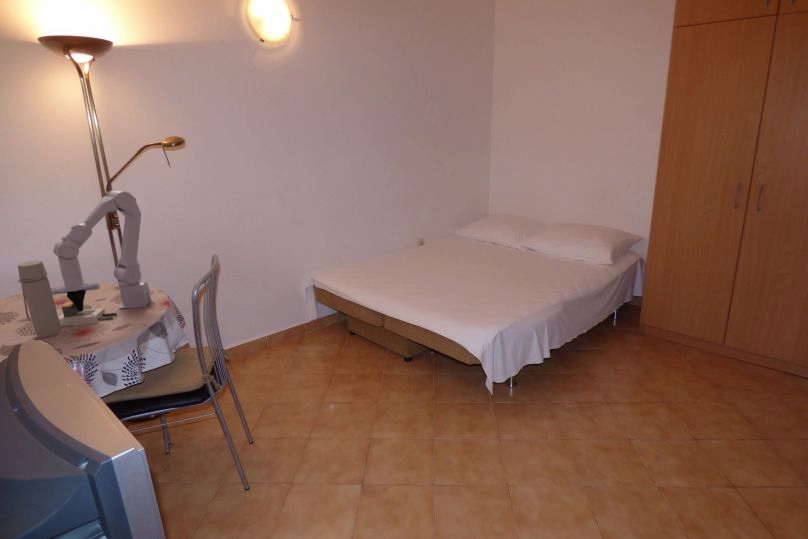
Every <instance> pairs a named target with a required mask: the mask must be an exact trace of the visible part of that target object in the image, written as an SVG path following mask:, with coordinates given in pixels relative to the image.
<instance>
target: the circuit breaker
mask: <svg viewBox="0 0 808 539" xmlns="http://www.w3.org/2000/svg"><path fill="white" fill-rule="evenodd" d="M102 314H106V310H105V308H93V309H84V310H83V311H80V312H77V313H76V314H75V315H74V316H65V317H64V314H63V313H61V315H58V319H59V322H60V326H61V327H66V326H79V325H89V324H90V325H91V324H97V323H98V322H99V321H100V320H99V319H98V318H99V317H103V316H102Z"/></svg>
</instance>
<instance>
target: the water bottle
mask: <svg viewBox="0 0 808 539" xmlns="http://www.w3.org/2000/svg"><path fill="white" fill-rule="evenodd" d="M17 271H18V277H19V279H18V280H17V282H18V283H20V284H21V291H22V296H23V303H24V309H25V315H26V318H27V319H28V322H31V323H32V326H33V330H34V333H35V335H36V337H38V338H44V339H45V338H49V337H53V336H56V335H58V334H59V333H60V332H61V331H62V326H60V322H59V319H58V317H59V314H58V312H57V308H56V305H55V300H54V295H52V292H51V289H52V288H51V284H50V280H49V277H48V273H47V270H46V268H45V265H44V262H43V261H42V260H31V261H24V262H22V263H19V264H17Z"/></svg>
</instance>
